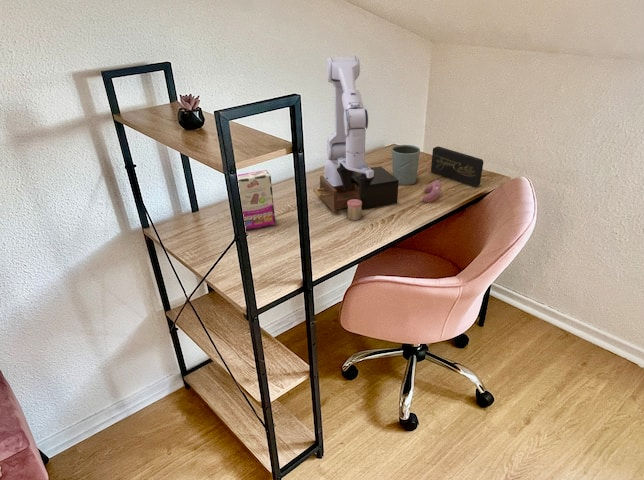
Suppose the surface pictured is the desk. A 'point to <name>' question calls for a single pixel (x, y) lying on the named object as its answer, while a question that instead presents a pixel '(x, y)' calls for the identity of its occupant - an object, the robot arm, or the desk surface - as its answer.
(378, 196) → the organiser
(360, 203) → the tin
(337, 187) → the drawer
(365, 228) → the desk surface
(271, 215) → the candy bar box
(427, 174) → the desk surface
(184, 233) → the desk surface
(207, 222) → the desk surface
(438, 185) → the pink curved piece
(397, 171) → the green cup
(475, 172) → the nameplate
